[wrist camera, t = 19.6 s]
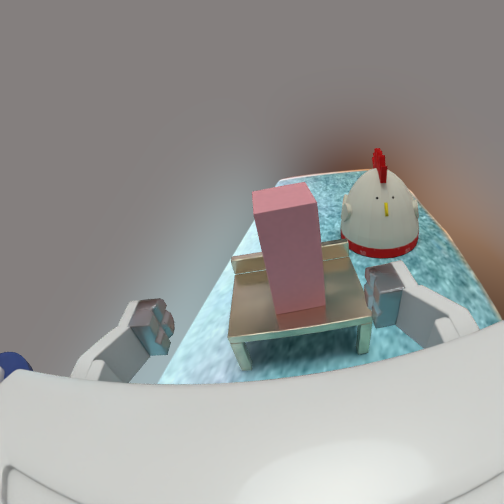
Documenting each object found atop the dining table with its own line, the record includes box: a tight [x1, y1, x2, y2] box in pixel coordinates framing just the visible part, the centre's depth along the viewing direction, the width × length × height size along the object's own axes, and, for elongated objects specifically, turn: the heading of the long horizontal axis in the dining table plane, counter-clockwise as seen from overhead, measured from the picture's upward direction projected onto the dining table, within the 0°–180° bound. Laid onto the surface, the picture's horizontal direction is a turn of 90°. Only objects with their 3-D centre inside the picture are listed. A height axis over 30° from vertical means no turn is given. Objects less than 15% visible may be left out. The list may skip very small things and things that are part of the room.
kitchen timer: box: [341, 148, 419, 258], centre depth 42 cm, size 14×14×15 cm
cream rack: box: [228, 238, 373, 371], centre depth 31 cm, size 14×11×8 cm
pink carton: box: [252, 182, 326, 315], centre depth 27 cm, size 5×5×11 cm
